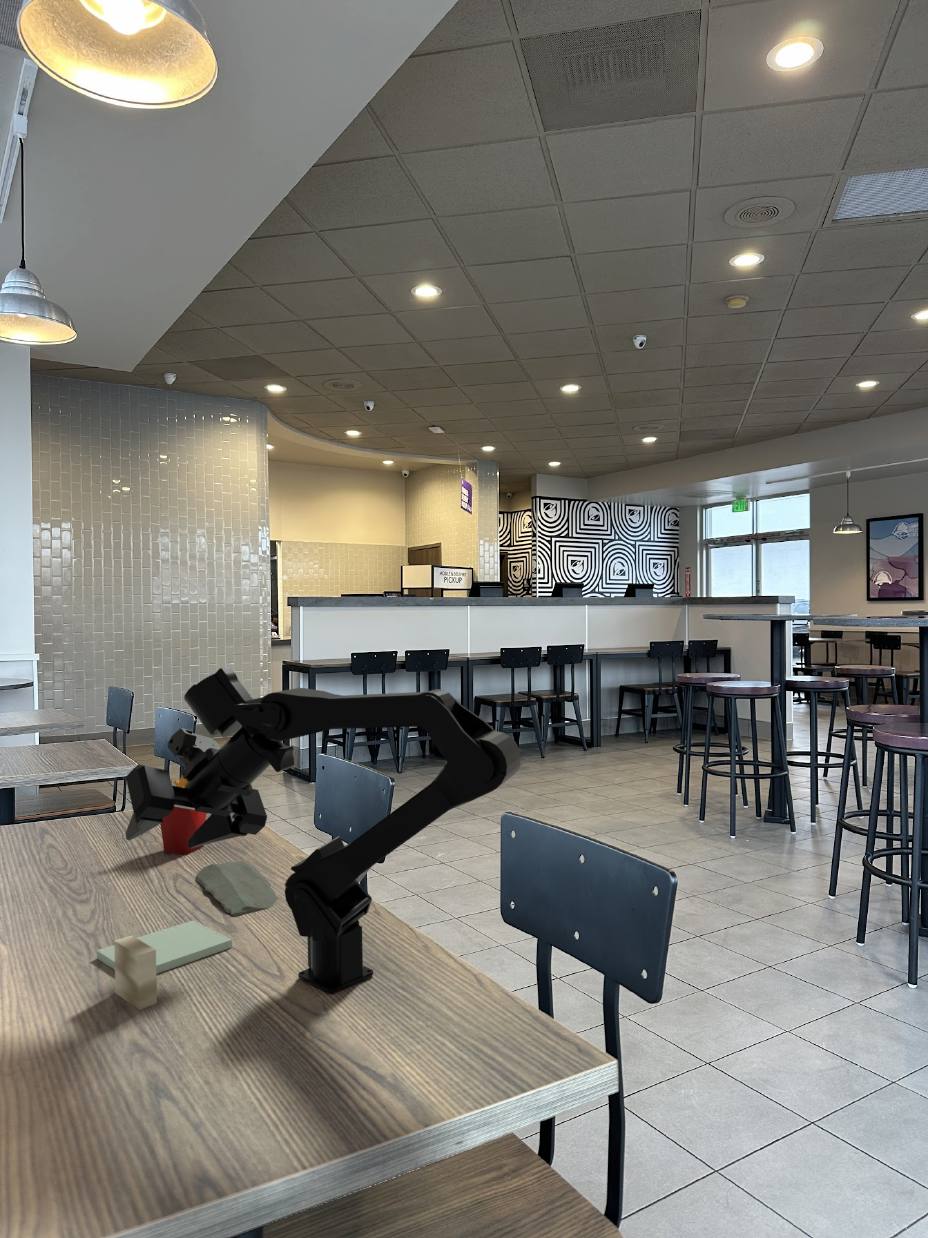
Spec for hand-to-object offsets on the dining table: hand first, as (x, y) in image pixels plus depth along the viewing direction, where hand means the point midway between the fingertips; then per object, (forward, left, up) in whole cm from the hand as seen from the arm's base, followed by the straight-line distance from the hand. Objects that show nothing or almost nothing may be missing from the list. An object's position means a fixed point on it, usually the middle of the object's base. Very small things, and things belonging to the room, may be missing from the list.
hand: (159, 841), depth 103 cm
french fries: (+40, -25, -14) cm, 49 cm away
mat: (0, 0, -14) cm, 14 cm away
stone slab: (+14, -20, -15) cm, 28 cm away
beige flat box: (-9, +8, -14) cm, 19 cm away
